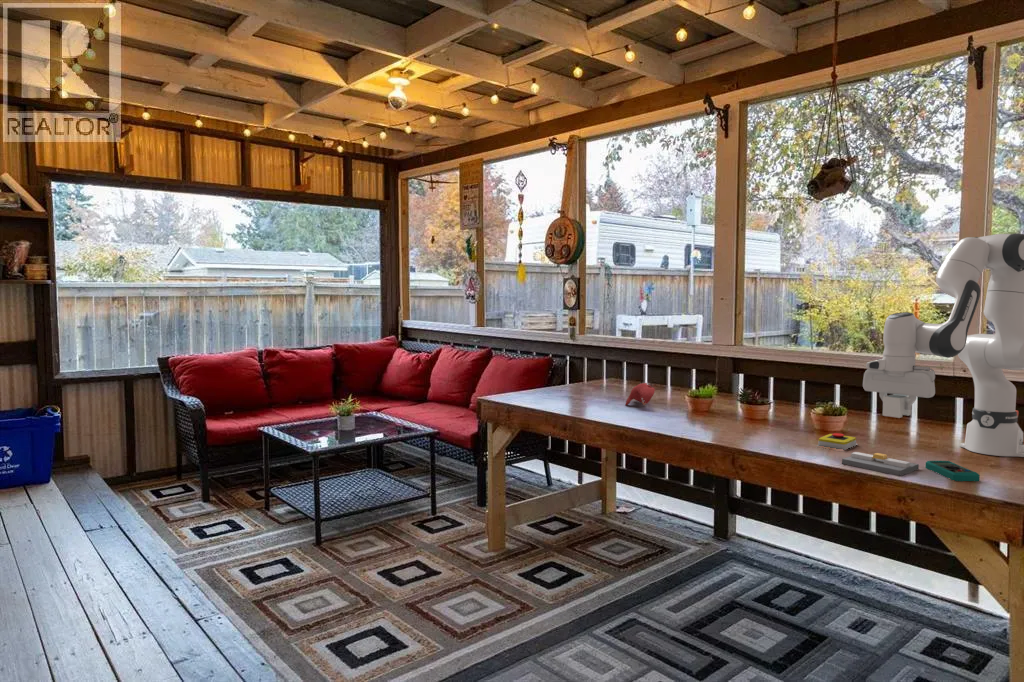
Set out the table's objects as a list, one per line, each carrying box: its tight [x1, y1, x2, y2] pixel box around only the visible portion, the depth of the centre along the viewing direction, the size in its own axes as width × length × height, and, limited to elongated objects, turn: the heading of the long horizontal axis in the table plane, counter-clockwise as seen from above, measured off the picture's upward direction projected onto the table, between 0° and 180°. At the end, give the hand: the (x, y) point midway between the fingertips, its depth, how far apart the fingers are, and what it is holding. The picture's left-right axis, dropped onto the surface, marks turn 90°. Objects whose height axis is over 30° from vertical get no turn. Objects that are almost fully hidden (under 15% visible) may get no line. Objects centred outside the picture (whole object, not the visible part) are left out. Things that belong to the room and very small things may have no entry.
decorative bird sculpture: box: [624, 382, 656, 406], centre depth 311 cm, size 28×9×15 cm
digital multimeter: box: [924, 460, 980, 482], centre depth 193 cm, size 7×15×3 cm, turn 177°
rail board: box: [841, 451, 920, 477], centre depth 202 cm, size 12×17×3 cm
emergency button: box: [817, 432, 858, 451], centre depth 229 cm, size 9×4×15 cm
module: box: [882, 394, 912, 419], centre depth 208 cm, size 8×5×6 cm, turn 126°
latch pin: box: [872, 452, 888, 460], centre depth 202 cm, size 2×3×1 cm
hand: (897, 408), depth 208 cm, fingers closed on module, 5 cm apart
